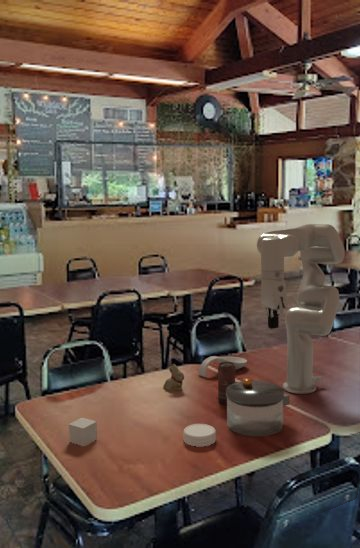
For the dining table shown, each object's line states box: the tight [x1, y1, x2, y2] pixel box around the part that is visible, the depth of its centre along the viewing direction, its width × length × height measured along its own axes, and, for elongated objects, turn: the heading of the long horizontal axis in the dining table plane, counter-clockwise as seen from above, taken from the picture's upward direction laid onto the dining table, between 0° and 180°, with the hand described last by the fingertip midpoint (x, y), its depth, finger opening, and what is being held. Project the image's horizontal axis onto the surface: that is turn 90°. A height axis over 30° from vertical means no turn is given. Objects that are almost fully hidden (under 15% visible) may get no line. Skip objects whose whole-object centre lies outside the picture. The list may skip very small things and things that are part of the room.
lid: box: [226, 377, 285, 406], centre depth 181 cm, size 19×19×4 cm
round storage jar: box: [226, 381, 290, 437], centre depth 186 cm, size 20×26×10 cm
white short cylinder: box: [182, 423, 217, 448], centre depth 172 cm, size 10×10×4 cm
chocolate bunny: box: [162, 363, 185, 392], centre depth 216 cm, size 6×8×10 cm
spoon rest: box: [197, 355, 248, 378], centre depth 237 cm, size 24×12×7 cm, turn 129°
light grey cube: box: [68, 417, 98, 447], centre depth 173 cm, size 6×6×6 cm
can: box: [217, 362, 237, 405], centre depth 203 cm, size 6×6×14 cm
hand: (273, 327), depth 190 cm, fingers closed
